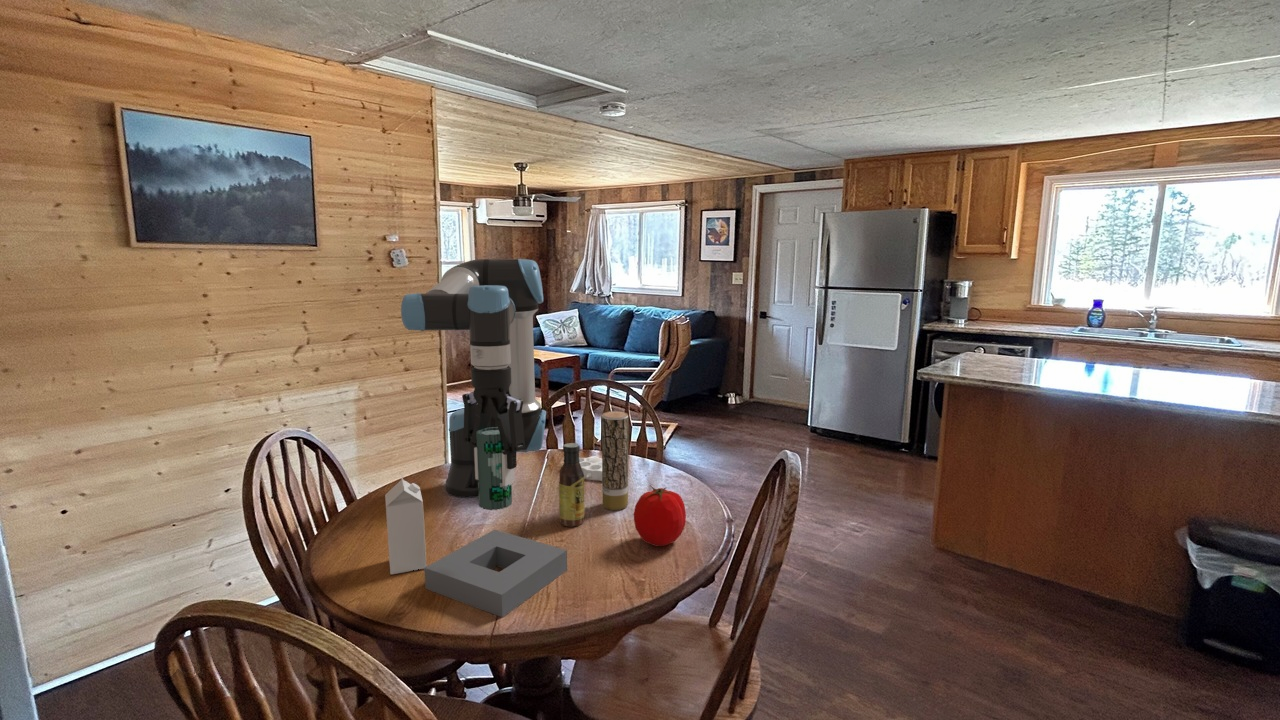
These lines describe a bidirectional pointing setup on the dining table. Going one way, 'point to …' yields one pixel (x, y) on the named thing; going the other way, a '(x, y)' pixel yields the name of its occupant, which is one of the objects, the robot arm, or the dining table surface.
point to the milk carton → (405, 528)
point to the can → (491, 470)
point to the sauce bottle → (571, 487)
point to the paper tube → (615, 460)
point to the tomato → (660, 516)
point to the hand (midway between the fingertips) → (494, 480)
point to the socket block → (490, 590)
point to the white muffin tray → (592, 468)
